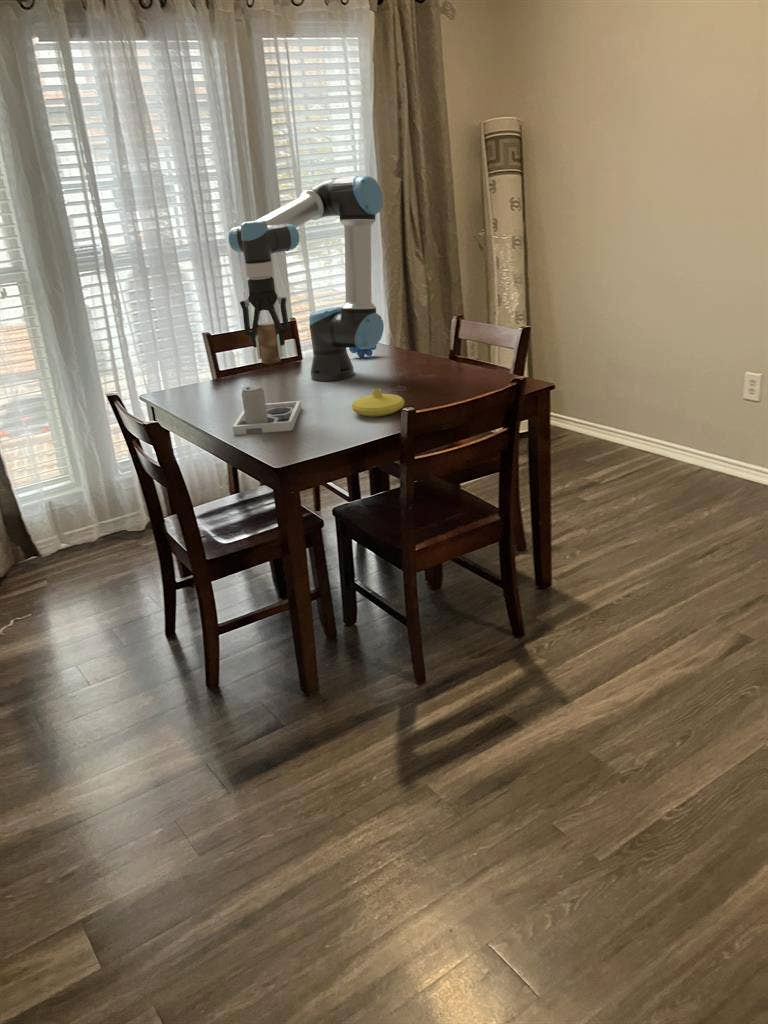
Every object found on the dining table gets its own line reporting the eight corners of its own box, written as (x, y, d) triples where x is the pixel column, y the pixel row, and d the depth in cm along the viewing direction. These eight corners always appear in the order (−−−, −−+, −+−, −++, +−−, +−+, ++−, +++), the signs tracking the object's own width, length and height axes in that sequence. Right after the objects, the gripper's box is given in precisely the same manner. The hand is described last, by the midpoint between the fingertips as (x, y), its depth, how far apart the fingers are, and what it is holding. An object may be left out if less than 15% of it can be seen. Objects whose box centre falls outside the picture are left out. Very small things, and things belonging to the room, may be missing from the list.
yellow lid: (354, 407, 264) (351, 385, 261) (405, 403, 263) (403, 380, 260) (350, 423, 249) (348, 399, 246) (405, 418, 248) (403, 395, 245)
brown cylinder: (281, 358, 260) (277, 322, 256) (278, 362, 255) (274, 325, 251) (263, 360, 261) (258, 323, 257) (260, 364, 256) (255, 326, 252)
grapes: (345, 361, 322) (341, 329, 317) (347, 357, 328) (344, 325, 324) (376, 359, 321) (373, 326, 316) (378, 354, 327) (375, 323, 322)
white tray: (301, 408, 268) (300, 400, 267) (292, 430, 247) (291, 422, 246) (247, 413, 269) (246, 405, 268) (233, 435, 248) (232, 426, 247)
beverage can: (247, 425, 256) (241, 385, 252) (269, 422, 257) (263, 383, 252) (246, 431, 250) (239, 391, 246) (268, 429, 251) (262, 388, 246)
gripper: (294, 273, 252) (303, 352, 260) (231, 278, 253) (242, 356, 262) (290, 276, 245) (299, 357, 253) (225, 281, 246) (237, 362, 255)
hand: (270, 357), depth 258 cm, fingers closed on brown cylinder, 6 cm apart
